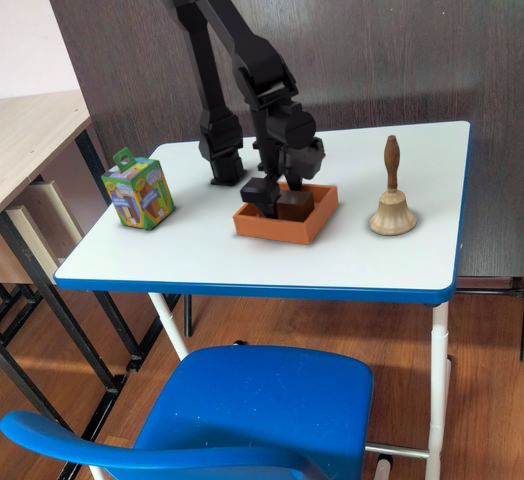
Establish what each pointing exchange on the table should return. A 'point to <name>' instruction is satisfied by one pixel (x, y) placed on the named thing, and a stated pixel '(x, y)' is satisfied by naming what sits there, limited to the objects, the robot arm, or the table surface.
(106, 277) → the table surface
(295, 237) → the tray
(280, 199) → the eraser
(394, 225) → the hand bell
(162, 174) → the chalk box
